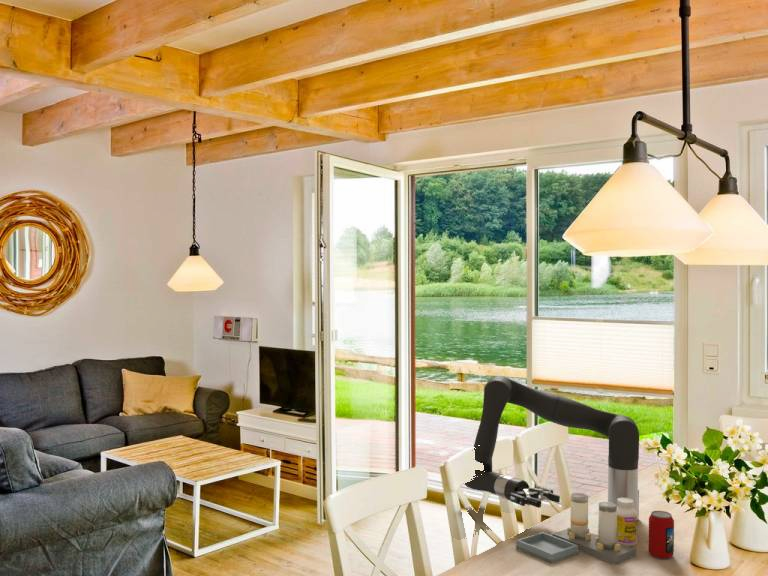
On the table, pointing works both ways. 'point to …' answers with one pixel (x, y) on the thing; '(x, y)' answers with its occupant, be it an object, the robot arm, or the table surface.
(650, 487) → the table surface
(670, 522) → the beverage can
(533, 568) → the table surface
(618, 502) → the supplement bottle
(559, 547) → the tray
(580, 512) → the marked fuse
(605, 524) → the cylinder
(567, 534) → the block
